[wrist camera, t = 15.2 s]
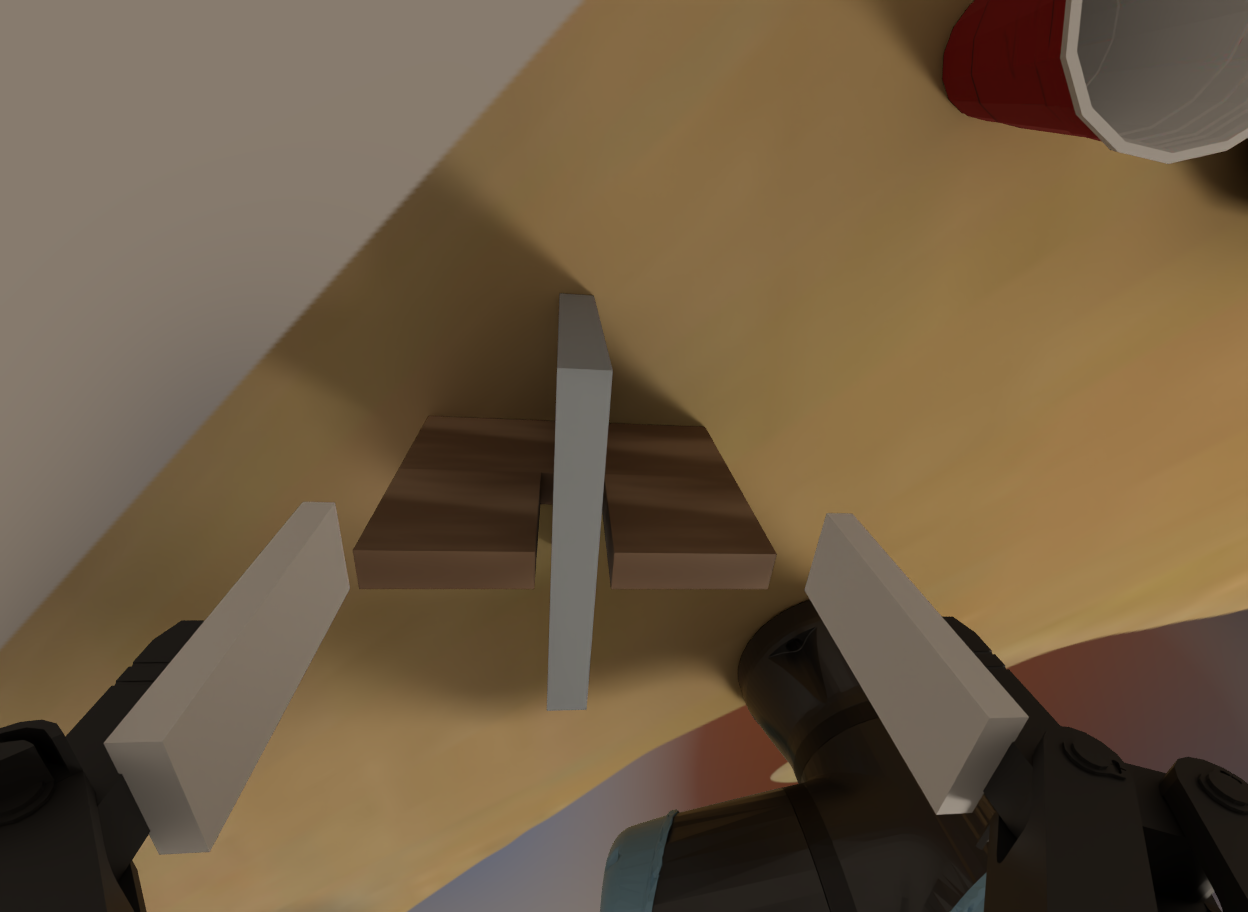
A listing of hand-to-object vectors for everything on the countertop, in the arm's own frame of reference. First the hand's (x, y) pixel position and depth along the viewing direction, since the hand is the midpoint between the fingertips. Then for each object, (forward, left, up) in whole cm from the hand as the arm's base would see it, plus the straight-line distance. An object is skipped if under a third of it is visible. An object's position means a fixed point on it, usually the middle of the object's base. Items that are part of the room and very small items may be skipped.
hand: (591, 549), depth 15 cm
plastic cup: (+17, -21, -21) cm, 34 cm away
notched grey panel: (-6, 0, -21) cm, 22 cm away
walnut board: (-6, 0, -21) cm, 22 cm away
